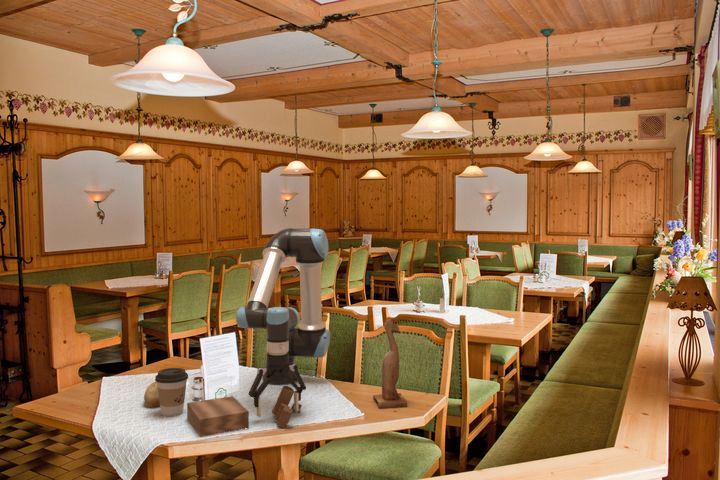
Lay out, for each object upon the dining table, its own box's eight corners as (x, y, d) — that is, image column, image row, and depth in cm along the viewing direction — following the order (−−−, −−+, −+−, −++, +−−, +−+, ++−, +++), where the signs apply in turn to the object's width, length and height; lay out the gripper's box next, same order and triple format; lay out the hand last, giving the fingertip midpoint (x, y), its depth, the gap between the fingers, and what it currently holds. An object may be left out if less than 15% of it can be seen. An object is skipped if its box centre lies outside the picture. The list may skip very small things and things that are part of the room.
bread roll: (179, 396, 229) (179, 375, 229) (165, 409, 214) (165, 387, 214) (155, 395, 230) (155, 375, 229) (139, 408, 215) (138, 387, 214)
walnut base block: (232, 412, 213) (232, 396, 212) (248, 429, 197) (248, 411, 196) (187, 420, 205) (187, 402, 204) (200, 437, 189) (200, 419, 189)
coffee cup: (175, 420, 203) (174, 377, 202) (148, 416, 207) (147, 373, 206) (195, 409, 214) (195, 368, 213) (169, 405, 218) (168, 365, 217)
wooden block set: (287, 435, 197) (299, 408, 196) (263, 424, 197) (275, 397, 196) (298, 414, 215) (309, 389, 214) (276, 404, 215) (287, 379, 214)
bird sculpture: (409, 407, 219) (412, 321, 218) (378, 409, 216) (382, 322, 215) (399, 398, 230) (402, 316, 229) (370, 399, 227) (373, 316, 226)
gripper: (245, 359, 196) (245, 422, 197) (315, 351, 207) (315, 411, 208) (239, 354, 203) (239, 415, 204) (307, 346, 214) (307, 404, 215)
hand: (277, 413), depth 206 cm, fingers open, 13 cm apart
